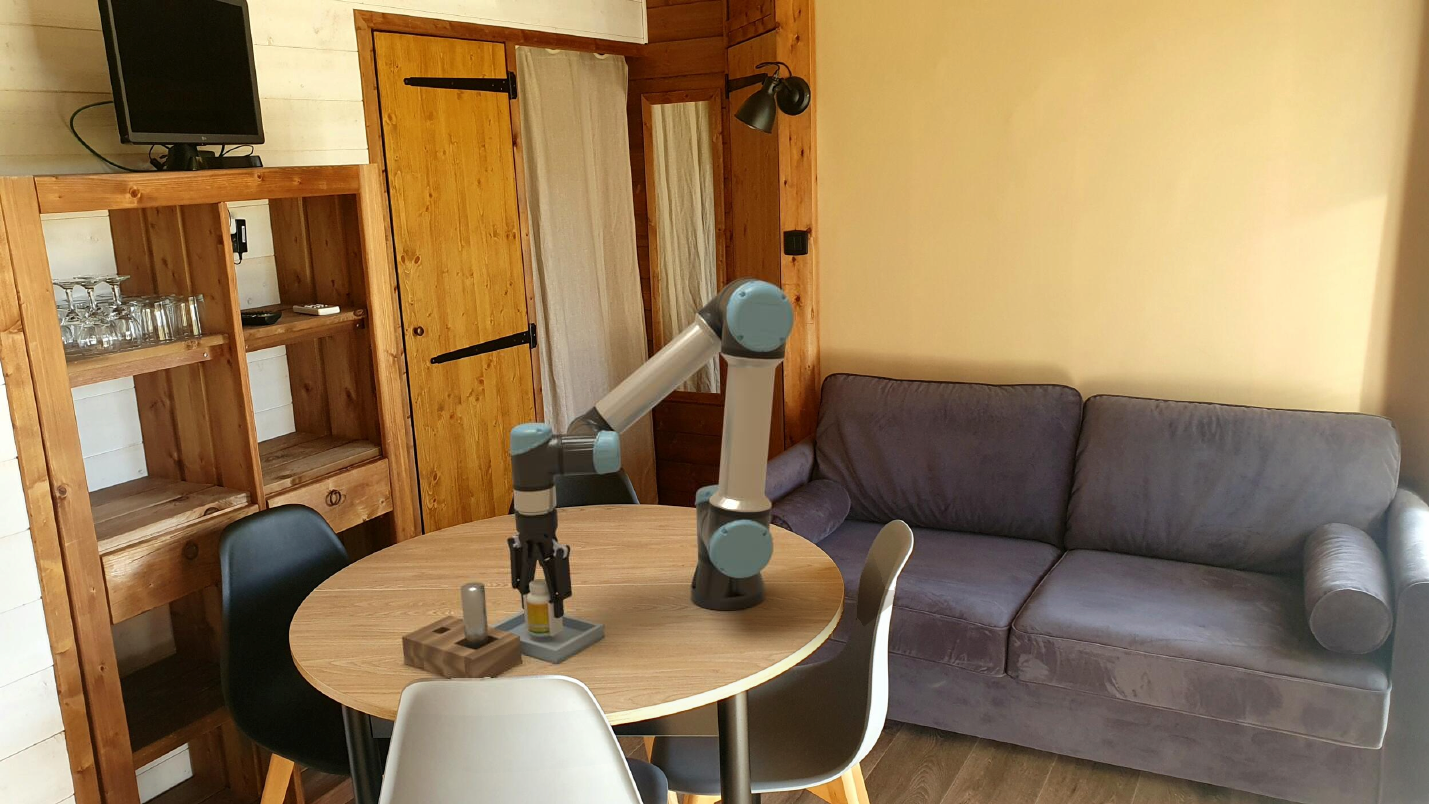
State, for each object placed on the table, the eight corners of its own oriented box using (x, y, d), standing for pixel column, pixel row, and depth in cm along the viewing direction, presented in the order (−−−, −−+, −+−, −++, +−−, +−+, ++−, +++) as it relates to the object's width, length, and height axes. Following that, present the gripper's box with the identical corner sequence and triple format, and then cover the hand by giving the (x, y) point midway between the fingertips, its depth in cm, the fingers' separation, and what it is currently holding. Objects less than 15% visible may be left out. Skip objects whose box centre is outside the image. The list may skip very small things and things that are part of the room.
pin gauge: (495, 665, 182) (489, 585, 179) (478, 674, 178) (471, 592, 176) (479, 660, 184) (472, 580, 181) (462, 669, 181) (455, 588, 178)
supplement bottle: (529, 626, 194) (526, 578, 192) (558, 624, 194) (555, 576, 192) (527, 638, 188) (524, 588, 187) (557, 636, 189) (554, 586, 187)
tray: (604, 637, 192) (604, 624, 192) (556, 664, 182) (556, 650, 181) (533, 618, 202) (532, 606, 202) (484, 642, 192) (483, 629, 191)
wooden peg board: (521, 662, 183) (519, 635, 182) (475, 687, 174) (473, 659, 173) (451, 640, 193) (449, 615, 192) (404, 663, 184) (401, 636, 183)
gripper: (588, 510, 185) (595, 632, 189) (514, 497, 195) (522, 613, 200) (559, 522, 179) (567, 647, 183) (484, 507, 189) (493, 626, 193)
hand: (544, 629), depth 191 cm, fingers closed on supplement bottle, 5 cm apart
